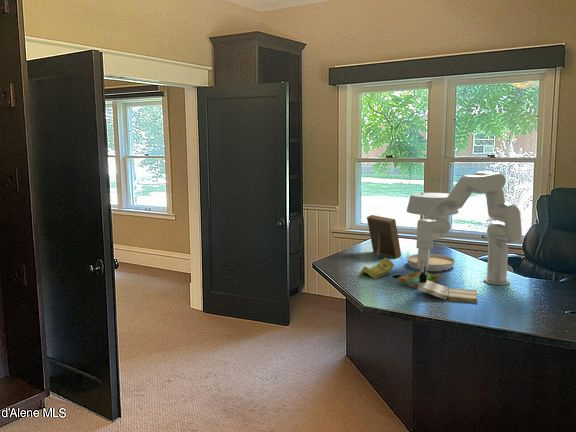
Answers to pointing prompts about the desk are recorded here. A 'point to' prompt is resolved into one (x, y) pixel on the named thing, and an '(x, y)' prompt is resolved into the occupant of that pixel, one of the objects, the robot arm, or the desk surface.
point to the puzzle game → (416, 279)
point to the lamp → (422, 206)
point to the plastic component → (378, 269)
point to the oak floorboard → (462, 295)
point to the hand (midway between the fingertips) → (422, 282)
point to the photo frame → (384, 236)
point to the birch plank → (434, 289)
